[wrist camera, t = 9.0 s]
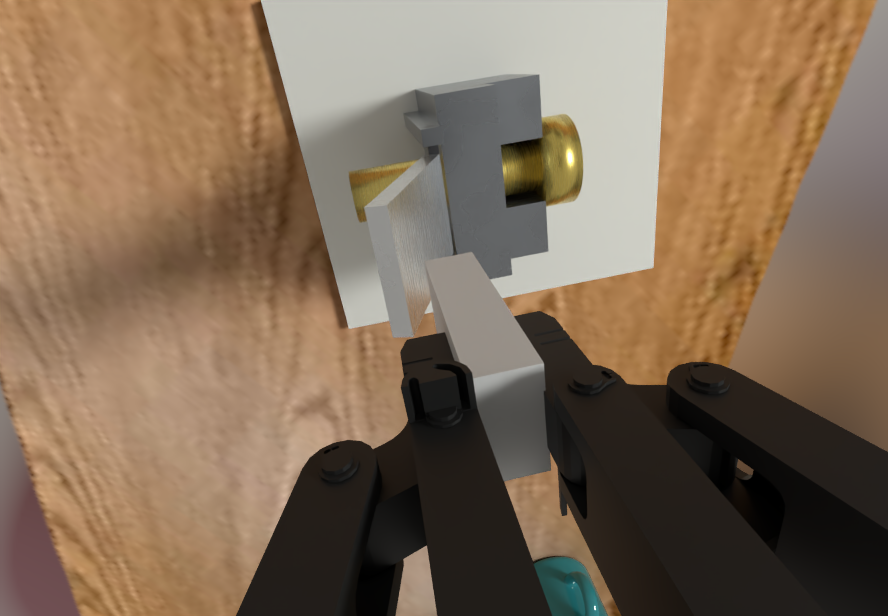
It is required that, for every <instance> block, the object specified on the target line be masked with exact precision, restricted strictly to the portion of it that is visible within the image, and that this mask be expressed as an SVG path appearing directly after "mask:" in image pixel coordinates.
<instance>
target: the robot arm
mask: <svg viewBox="0 0 888 616" xmlns="http://www.w3.org/2000/svg"><path fill="white" fill-rule="evenodd" d="M424 262H425V268H426V273H427V279H428V285H429V290H430V296H431V302H432V307H433V313H434V319H435V324H436V330H437V334H433V335H428V336H423V337H419V338H414V339H409V340H407V341H406V342H405V344H404V346H403V348H402V350H401V352H400V353H401V360H402V366H403V373H404V378H403V380H402V385H401V390H402V394H403V399H404V403H405V408H406V412H407V416H408V422H407V424H406V426H405V428H404V429H403V430H402V431H401V433H399V434H398V435H397V436H396V437H395V438H394V439H392V440H390V441H388V442H387V443H385V444H383V445H381V446H379V447H377V448H375V449H372V448H371V446H369V445H367V444H365V443H363V442H361V441H353V440H346V441H341V442H336V443H333V444H331V445H328V446H326V447H324V448H322V449H320V450H319V451H318V452H317V453H315V454H314V455H313V456H311V457H310V458H309V460H308V461H307V463H306V464H305V466H304V467H303V468H302V471H301V473H300V475H299V477H298V479H297V482H296V484H295V486H294V488H293V491H292V493H291V495H290V497H289V499H288V502H287V504H286V506H285V508H284V511H283V513H282V515H281V517H280V519H279V522H278V524H277V526H276V528H275V530H274V533H273V535H272V537H271V539H270V542H269V544H268V546H267V548H266V550H265V553H264V555H263V557H262V559H261V562H260V564H259V566H258V568H257V570H256V573H255V575H254V577H253V579H252V582H251V584H250V586H249V588H248V590H247V593H246V595H245V597H244V599H243V602H242V604H241V606H240V608H239V610H238V613H237V615H236V616H395V615H396V609H397V603H398V597H399V590H400V584H401V578H402V572H403V566H404V562H403V559H404V558H406V557H407V556H409V555H411V554H413V553H414V552H416V551H418V550H419V549H421V548H423V547H424V546H426V545H427V548H428V555H429V562H430V569H431V575H432V582H433V589H434V596H435V603H436V609H437V616H552V613H551V611H550V608H549V605H548V602H547V600H546V597H545V594H544V591H543V588H542V586H541V583H540V580H539V577H538V575H537V572H536V569H535V566H534V564H533V561H532V558H531V555H530V552H529V550H528V547H527V544H526V541H525V539H524V536H523V533H522V530H521V528H520V525H519V522H518V519H517V516H516V514H515V511H514V508H513V505H512V503H511V500H510V497H509V494H508V492H507V489H506V486H505V483H504V481H507V480H511V479H516V478H520V477H524V476H529V475H533V474H537V473H541V472H546V471H550V470H551V463H550V453H551V455H552V457H553V459H554V461H555V463H556V464H557V466H558V480H559V498H560V509H561V514H562V516H565V515H567V504H568V506H569V508H570V510H571V512H572V514H573V516H574V518H575V521H576V523H577V525H578V527H579V529H580V531H581V533H582V535H583V537H584V539H585V541H586V543H587V545H588V547H589V549H590V552H591V554H592V556H593V558H594V560H595V562H596V564H597V566H598V568H599V570H600V572H601V574H602V576H603V578H604V580H605V583H606V585H607V587H608V589H609V591H610V593H611V595H612V597H613V599H614V601H615V603H616V605H617V607H618V609H619V611H620V614H621V616H888V452H887V451H885V450H883V449H881V448H879V447H877V446H875V445H874V444H872V443H870V442H868V441H866V440H864V439H862V438H861V437H859V436H857V435H855V434H853V433H851V432H849V431H847V430H845V429H843V428H842V427H840V426H838V425H836V424H834V423H832V422H830V421H828V420H827V419H825V418H823V417H821V416H819V415H817V414H815V413H813V412H812V411H810V410H808V409H806V408H804V407H802V406H800V405H798V404H797V403H794V402H792V401H791V400H789V399H787V398H785V397H783V396H782V395H780V394H778V393H776V392H774V391H772V390H770V389H768V388H766V387H765V386H763V385H761V384H759V383H757V382H755V381H753V380H751V379H749V378H747V377H746V376H744V375H742V374H740V373H738V372H736V371H734V370H732V369H730V368H727V367H725V366H722V365H719V364H713V363H708V362H690V363H686V364H682V365H678V366H677V367H675V368H674V369H672V370H671V371H670V373H669V375H668V378H667V385H631V384H627V383H626V382H625V381H624V380H623V379H622V378H621V377H620V376H619V375H618V374H617V373H615V372H614V371H613V370H611V369H608V368H605V367H602V366H598V365H592V363H591V362H590V361H589V360H588V358H587V357H586V356H585V355H584V354H583V352H582V351H581V350H580V349H579V347H578V346H577V345H576V344H575V342H574V341H573V340H572V339H570V336H569V335H568V334H567V333H566V331H565V330H563V328H562V327H561V325H560V324H559V323H558V322H557V320H556V319H555V318H553V317H551V316H549V315H547V314H545V313H543V312H541V311H537V312H532V313H528V314H523V315H518V316H513V315H512V313H511V311H510V310H509V308H508V307H507V305H506V304H505V302H504V301H503V299H502V297H501V296H500V294H499V293H498V291H497V290H496V288H495V287H494V285H493V284H492V282H491V280H490V279H489V277H488V276H487V274H486V273H485V271H484V270H483V268H482V267H481V265H480V263H479V262H478V260H477V259H476V257H475V256H474V254H473V253H472V252H468V253H463V254H458V255H453V256H448V257H443V258H438V259H433V260H427V261H424ZM738 459H739V460H741V461H742V462H743V463H745V464H746V465H748V466H749V467H751V468H752V469H753V470H754V471H753V475H748V474H747V473H745V472H743V471H741V470H740V469H739V468H737V462H738Z"/></svg>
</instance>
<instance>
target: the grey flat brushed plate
mask: <svg viewBox="0 0 888 616" xmlns="http://www.w3.org/2000/svg"><path fill="white" fill-rule="evenodd" d="M364 209H365V214H366V218H367V223H368V227H369V232H370V236H371V241H372V245H373V250H374V254H375V259H376V263H377V268H378V272H379V277H380V281H381V286H382V290H383V294H384V299H385V303H386V308H387V312H388V317H389V321H390V326H391V330H392V335H393V337H414V335H415V333H416V331H417V328H418V326H419V324H420V322H421V320H422V318H423V316H424V314H425V311H426V309H427V307H428V305H429V303H430V301H431V296H430V290H429V285H428V279H427V273H426V268H425V262H424V261H427V260H433V259H438V258H443V257H448V256H452V254H453V252H454V251H453V244H452V237H451V230H450V224H449V217H448V210H447V203H446V196H445V189H444V182H443V175H442V168H441V161H440V155H439V154H432V155H424V156H422V157H421V158H420V159H419V160H418V161H416V162H415V163H414V164H413V165H412V166H411V167H410V168H408V169H407V170H406V171H405V172H404V173H403V174H402V175H400V176H399V177H398V178H397V179H396V180H395V181H394V182H392V183H391V184H390V185H389V186H388V187H387V188H386V189H385V190H383V191H382V192H381V193H380V194H379V195H378V196H377V197H375V198H374V199H373V200H372V201H371V202H370V203H369V204H367V205H366V206H365V207H364Z"/></svg>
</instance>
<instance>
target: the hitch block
mask: <svg viewBox="0 0 888 616" xmlns="http://www.w3.org/2000/svg"><path fill="white" fill-rule="evenodd" d="M415 93H416V99H417V106H418V111H414V112H408V113H403V115H404V120H405V126H406V127H407V129H408V130H409V131H410V132H411V133H412V135H413V136H414V137H415V138H416V139H417V140H418V142H419V143H420V144H421V145H422V146H423V148H424V150H425V155H432V154H439V155H440V161H441V168H442V175H443V182H444V189H445V196H446V203H447V210H448V217H449V224H450V230H451V237H452V244H453V251H454V252H453V254H452V256H453V255H458V254H463V253H468V252H472V253H473V254H474V256H475V257H476V259H477V260H478V262H479V263H480V265H481V267H482V268H483V270H484V271H485V273H486V274H487V276H488V277H489V279H495V278H500V277H505V276H510V275H512V266H511V259H513V258H518V257H523V256H528V255H533V254H538V253H543V252H548V233H547V213H546V201H545V200H544V199H542V198H541V197H540V196H538V195H537V194H535V193H534V192H532V191H529V192H523V193H518V194H513V195H507V196H505V187H504V176H503V165H502V154H501V145H503V144H508V143H514V142H520V141H525V140H531V139H537V138H542V137H543V135H542V116H541V96H540V77H539V74H503V75H497V76H491V77H485V78H480V79H474V80H468V81H462V82H456V83H450V84H444V85H438V86H432V87H426V88H420V89H415Z"/></svg>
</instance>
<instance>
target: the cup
mask: <svg viewBox="0 0 888 616" xmlns="http://www.w3.org/2000/svg"><path fill="white" fill-rule="evenodd" d="M534 566H535V569H536V572H537V575H538V577H539V580H540V583H541V586H542V588H543V591H544V594H545V597H546V600H547V602H548V605H549V608H550V611H551V613H552V616H608V614H607V612H606V610H605V608H604V606H603V603H602V601H601V599H600V597H599V595H598V592H597V590H596V588H595V586H594V584H593V581H592V579H591V577H590V575H589V573H588V571H587V569H586V567H585V566H584V565H583V564H582V563H580V562H579V561H577V560H575V559H573V558H569V557H562V556H558V557H550V558H546V559H543V560H540V561H538V562H535V563H534Z"/></svg>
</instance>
